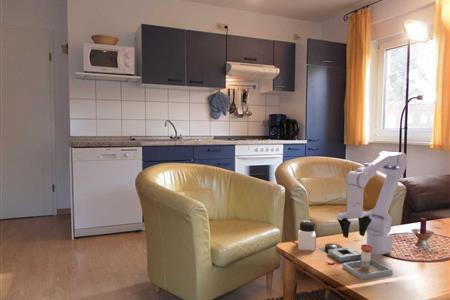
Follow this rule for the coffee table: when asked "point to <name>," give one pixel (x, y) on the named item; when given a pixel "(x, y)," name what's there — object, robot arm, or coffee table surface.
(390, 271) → the tray
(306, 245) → the medicine bottle
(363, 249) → the pin
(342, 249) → the block
